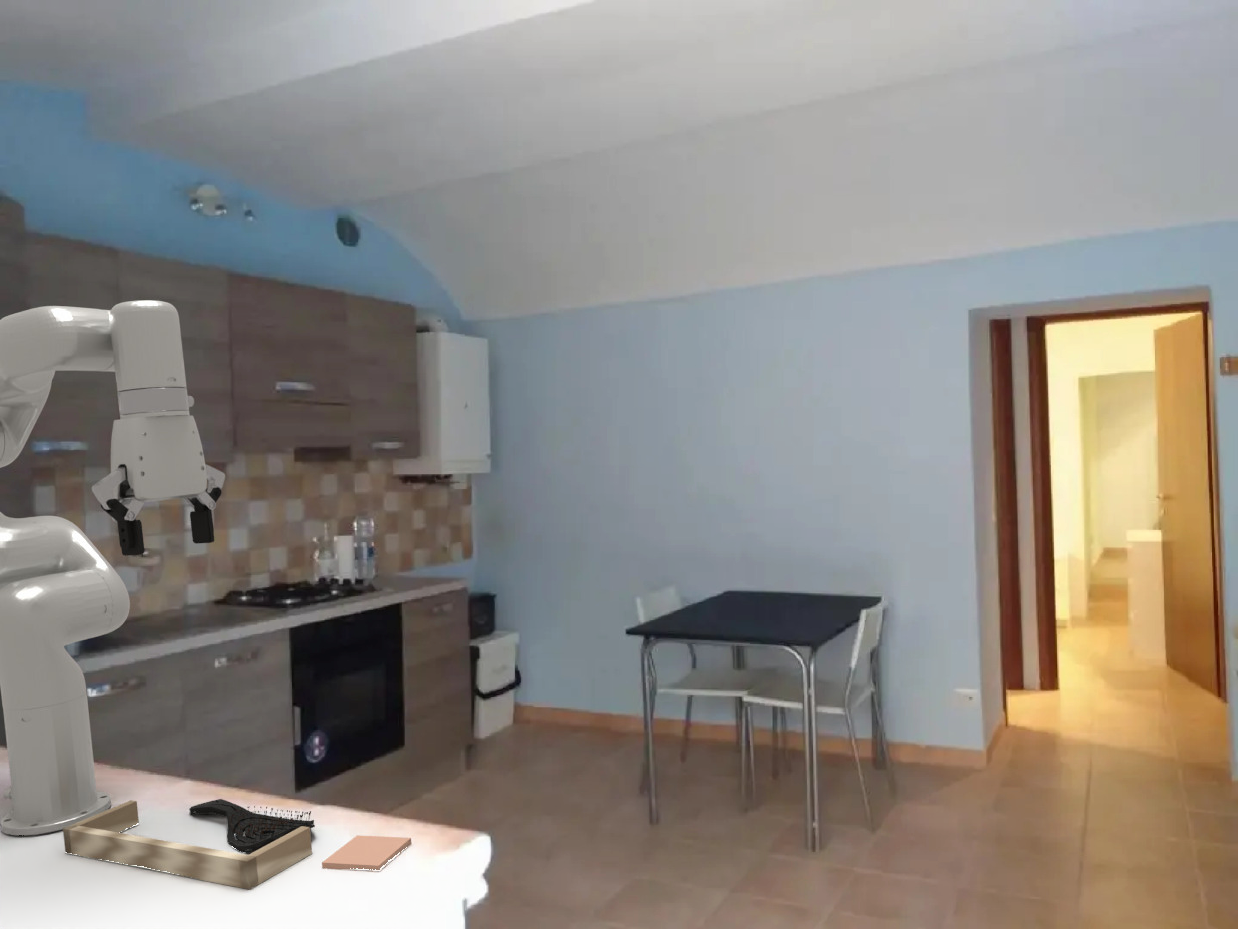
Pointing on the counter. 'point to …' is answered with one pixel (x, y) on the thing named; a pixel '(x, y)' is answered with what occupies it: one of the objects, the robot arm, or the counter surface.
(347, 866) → the terracotta tile
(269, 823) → the hairbrush
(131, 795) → the counter surface
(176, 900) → the counter surface
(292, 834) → the u-shaped wooden frame
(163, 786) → the counter surface
